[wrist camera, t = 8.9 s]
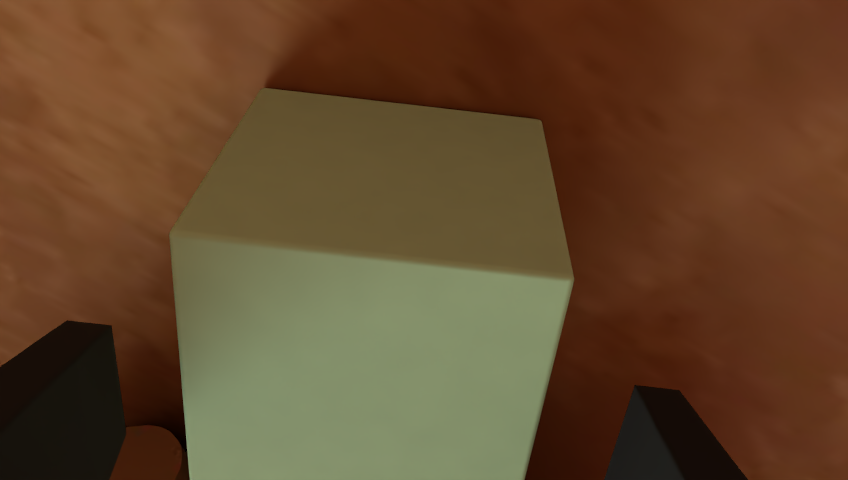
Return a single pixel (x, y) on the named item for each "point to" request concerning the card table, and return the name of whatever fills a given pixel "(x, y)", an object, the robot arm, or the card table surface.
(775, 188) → the card table surface
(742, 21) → the card table surface
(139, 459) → the toy
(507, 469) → the felt cube
